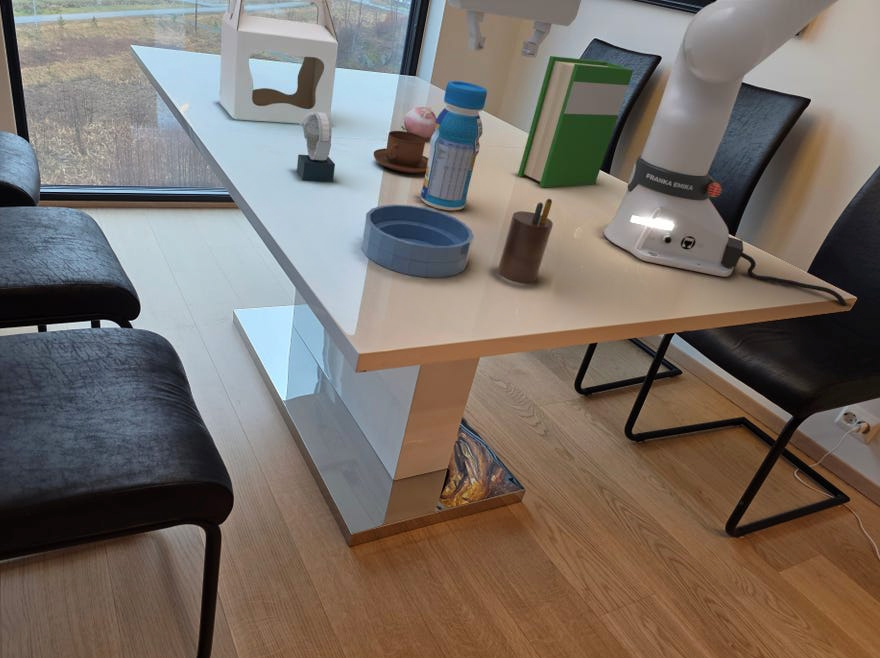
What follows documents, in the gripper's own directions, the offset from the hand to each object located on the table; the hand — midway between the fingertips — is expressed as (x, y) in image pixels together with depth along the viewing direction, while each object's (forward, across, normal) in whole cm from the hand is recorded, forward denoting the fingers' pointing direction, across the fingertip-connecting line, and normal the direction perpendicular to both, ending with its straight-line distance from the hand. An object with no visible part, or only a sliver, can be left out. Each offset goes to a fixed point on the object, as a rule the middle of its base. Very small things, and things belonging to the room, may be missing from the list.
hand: (502, 53), depth 93 cm
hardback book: (+27, +43, +26) cm, 57 cm away
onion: (+27, +23, +54) cm, 65 cm away
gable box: (+27, -7, +68) cm, 73 cm away
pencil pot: (+27, 0, -15) cm, 31 cm away
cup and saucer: (+27, +7, +32) cm, 43 cm away
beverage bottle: (+27, +5, +14) cm, 31 cm away
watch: (+27, -14, +27) cm, 41 cm away
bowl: (+27, -13, -7) cm, 31 cm away
